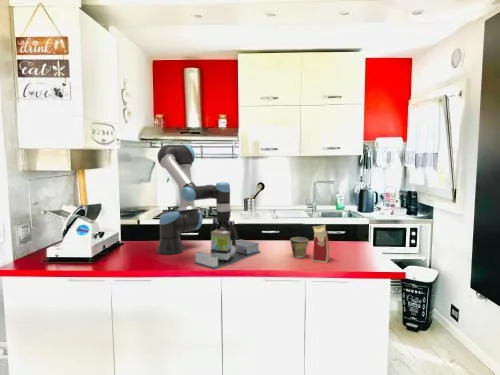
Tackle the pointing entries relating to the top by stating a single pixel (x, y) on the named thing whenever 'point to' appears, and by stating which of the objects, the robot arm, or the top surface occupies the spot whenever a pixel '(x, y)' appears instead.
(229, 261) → the vise
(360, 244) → the top surface
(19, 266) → the top surface
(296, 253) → the ceramic cup
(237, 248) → the free jaw
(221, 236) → the tea box
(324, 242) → the paper coffee bag
